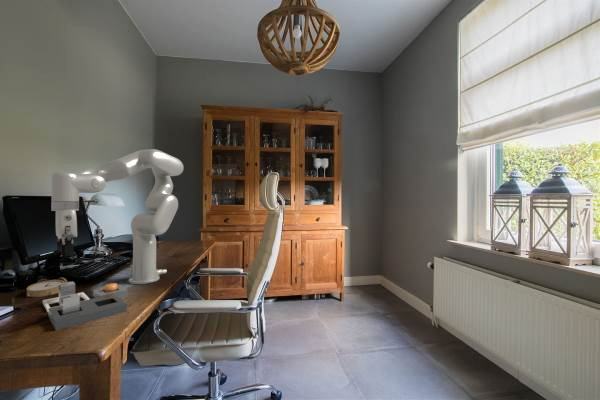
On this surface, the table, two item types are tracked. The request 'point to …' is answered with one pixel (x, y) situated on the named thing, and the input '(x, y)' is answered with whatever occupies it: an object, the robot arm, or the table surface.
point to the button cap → (110, 287)
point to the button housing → (119, 293)
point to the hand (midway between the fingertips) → (65, 253)
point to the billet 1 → (66, 289)
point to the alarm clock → (45, 287)
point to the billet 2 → (70, 304)
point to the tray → (55, 300)
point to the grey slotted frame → (88, 311)
